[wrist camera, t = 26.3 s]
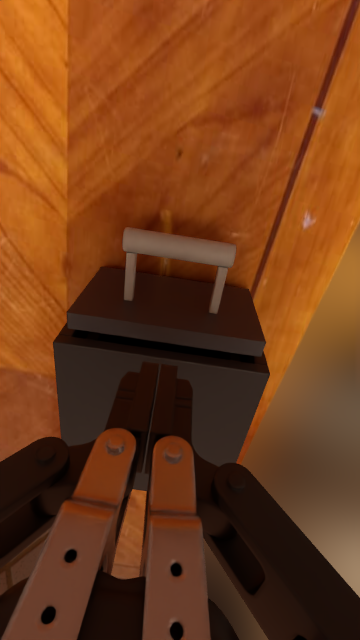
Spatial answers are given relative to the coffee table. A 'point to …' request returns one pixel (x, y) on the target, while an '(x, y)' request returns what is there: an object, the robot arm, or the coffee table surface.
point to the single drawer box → (202, 372)
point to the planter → (21, 564)
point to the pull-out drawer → (170, 302)
